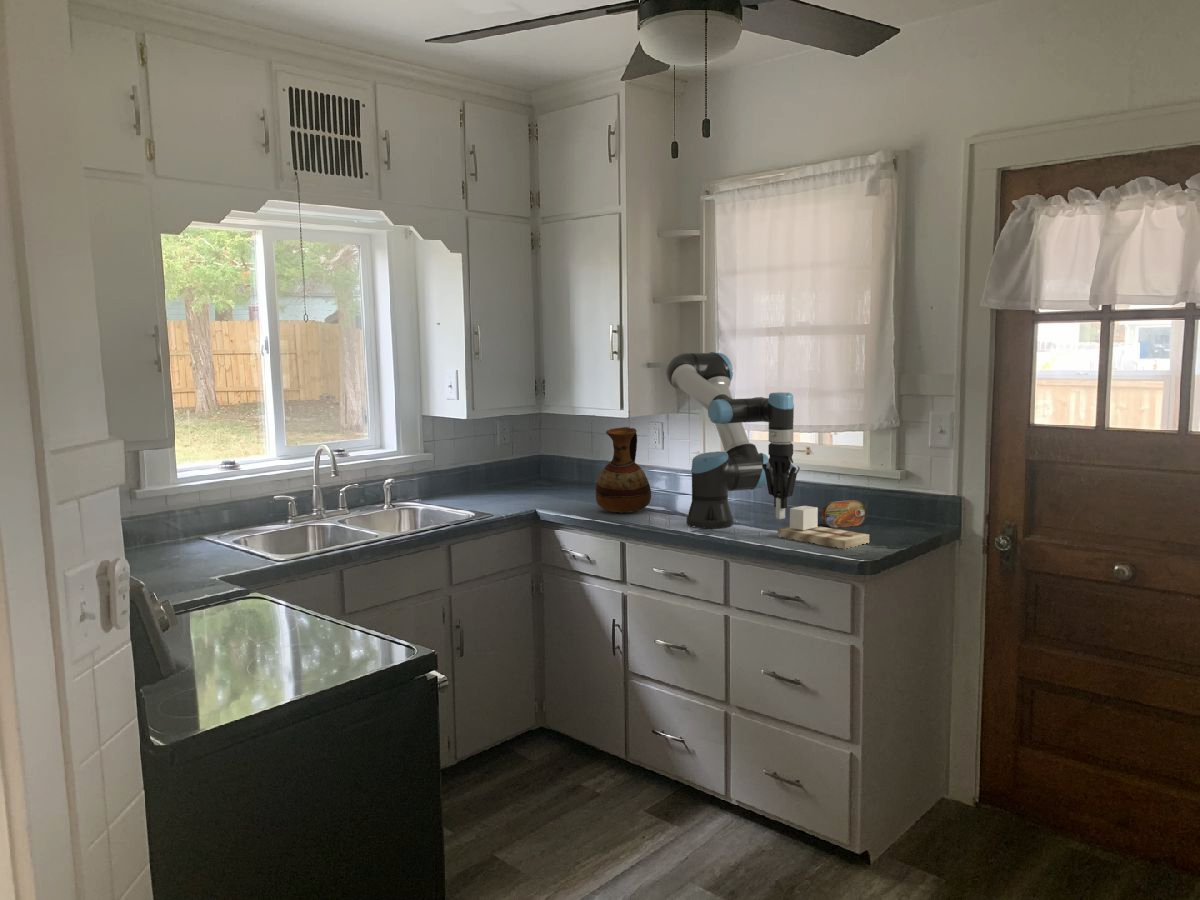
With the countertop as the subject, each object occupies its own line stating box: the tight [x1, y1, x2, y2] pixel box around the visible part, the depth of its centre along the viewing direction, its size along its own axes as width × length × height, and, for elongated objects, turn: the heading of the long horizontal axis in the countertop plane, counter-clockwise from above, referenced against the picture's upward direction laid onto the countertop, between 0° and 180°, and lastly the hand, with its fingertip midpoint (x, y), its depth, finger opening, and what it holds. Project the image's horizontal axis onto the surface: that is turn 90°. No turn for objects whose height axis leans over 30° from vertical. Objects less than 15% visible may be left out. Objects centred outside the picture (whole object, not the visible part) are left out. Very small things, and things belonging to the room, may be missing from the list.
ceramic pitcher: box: [595, 426, 652, 514], centre depth 328 cm, size 20×20×30 cm
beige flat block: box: [777, 525, 870, 550], centre depth 275 cm, size 24×12×3 cm, turn 40°
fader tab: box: [789, 505, 819, 530], centre depth 280 cm, size 5×7×6 cm
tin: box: [821, 499, 867, 529], centre depth 295 cm, size 15×3×8 cm, turn 106°
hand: (780, 518), depth 287 cm, fingers closed
